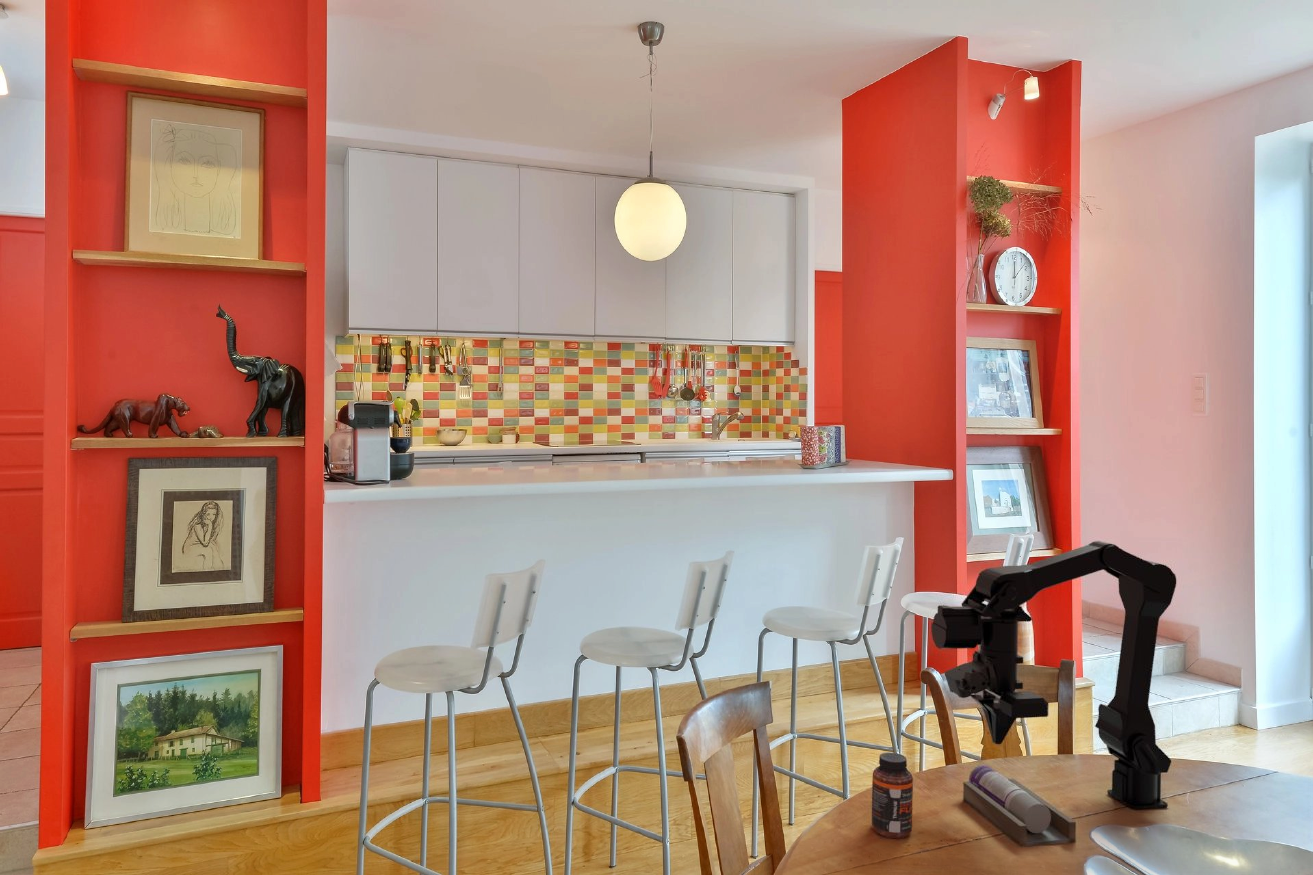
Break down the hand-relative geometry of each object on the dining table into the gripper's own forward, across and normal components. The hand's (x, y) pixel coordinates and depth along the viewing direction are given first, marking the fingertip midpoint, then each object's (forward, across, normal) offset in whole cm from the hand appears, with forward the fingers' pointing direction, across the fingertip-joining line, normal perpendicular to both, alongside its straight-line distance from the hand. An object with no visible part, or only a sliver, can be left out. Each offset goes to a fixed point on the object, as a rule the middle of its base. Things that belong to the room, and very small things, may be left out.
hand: (997, 743), depth 141 cm
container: (+7, -4, -1) cm, 8 cm away
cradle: (+10, +6, 0) cm, 11 cm away
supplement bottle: (+10, +6, -21) cm, 24 cm away
